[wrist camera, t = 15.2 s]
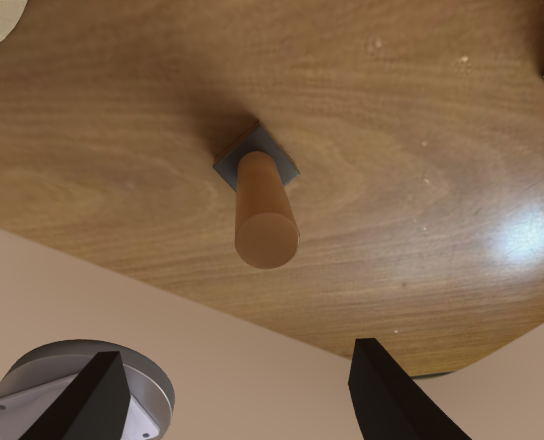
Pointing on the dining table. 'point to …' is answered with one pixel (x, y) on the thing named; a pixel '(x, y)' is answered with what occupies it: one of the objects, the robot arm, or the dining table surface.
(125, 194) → the dining table surface
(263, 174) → the wooden handle stamp
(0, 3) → the cream ceramic ramekin
